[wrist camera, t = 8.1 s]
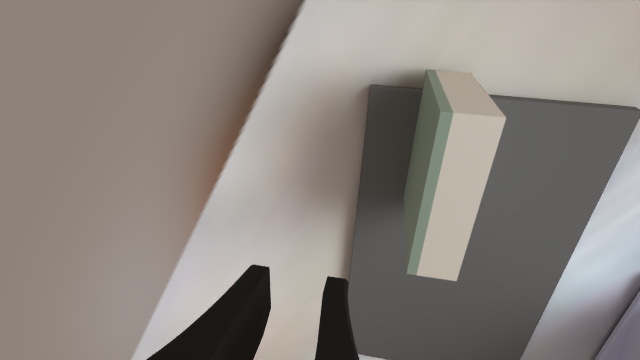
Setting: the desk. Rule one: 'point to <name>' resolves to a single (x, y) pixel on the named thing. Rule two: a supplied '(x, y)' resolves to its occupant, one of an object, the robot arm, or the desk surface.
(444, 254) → the tile
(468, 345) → the mat
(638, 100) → the desk surface
